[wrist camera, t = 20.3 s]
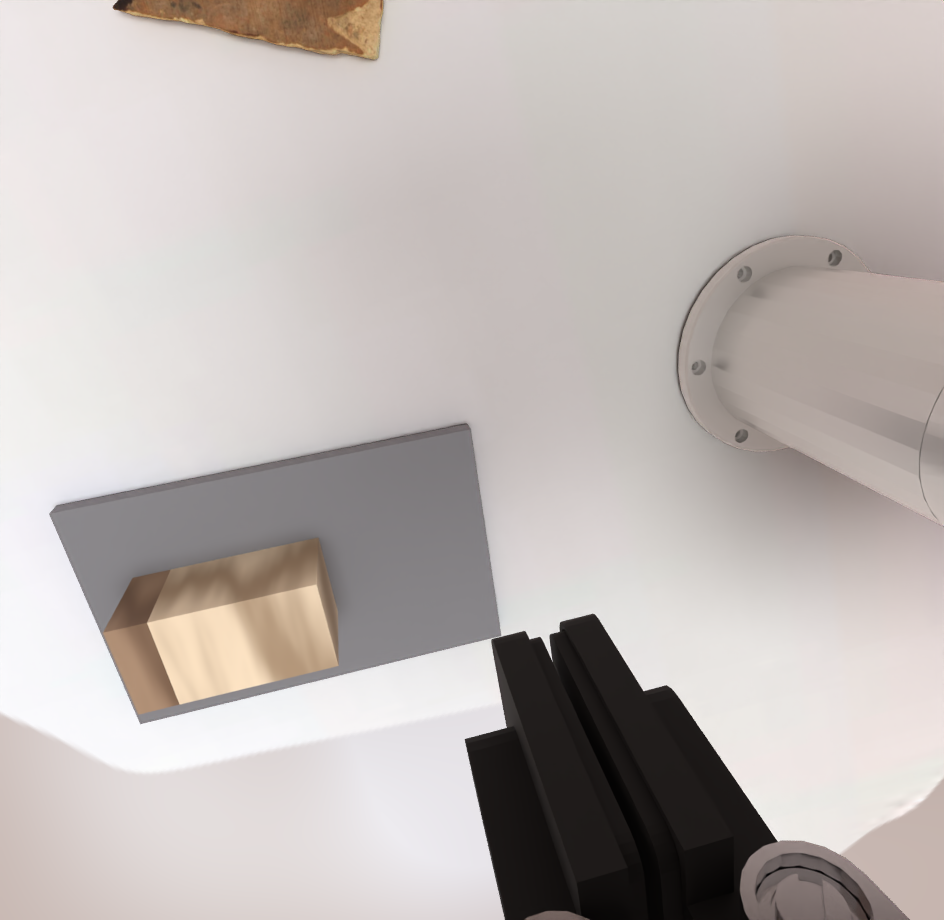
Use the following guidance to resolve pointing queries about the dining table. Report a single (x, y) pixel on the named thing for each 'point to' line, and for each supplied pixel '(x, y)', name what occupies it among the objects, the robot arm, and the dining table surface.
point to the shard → (279, 21)
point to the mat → (340, 535)
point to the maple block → (225, 625)
